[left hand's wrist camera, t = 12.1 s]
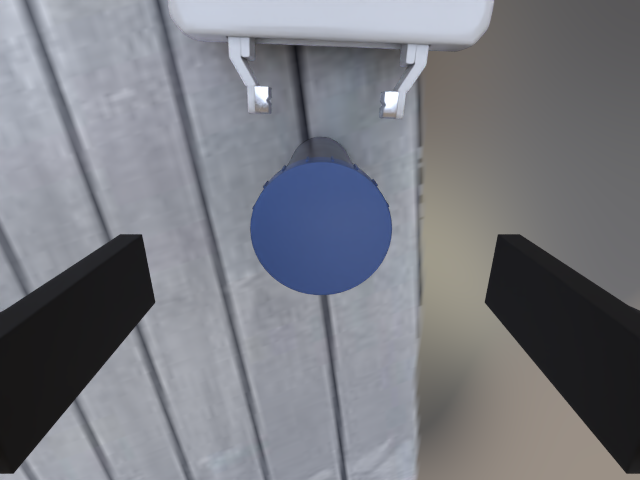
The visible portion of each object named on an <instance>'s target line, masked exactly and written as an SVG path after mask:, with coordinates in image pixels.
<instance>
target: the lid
mask: <svg viewBox="0 0 640 480" xmlns="http://www.w3.org/2000/svg"><path fill="white" fill-rule="evenodd" d="M377 186H378V185H377V183H376V182H375V181H374V179H372V180H371V179H370V178H369V176H368V175H367V174H365V173H364V172H363V171H362V170H360V169H359V168H358V167H357V165H356V164H354V165H352V164H350V163H348V162H346V161H343V160H339V159H336V158H334V157H333V156H331V158H329V157H313V158H309V156H308V157H306V159H303V160H299V161H297V162H294V163H292V164H290V165H288V166H287V167H286V165H285V166H284V167H283V168H282V170H281V171H279V172H278V173H277V174H276V175H275V176H274V177H273V178H272V179H271V180H270V181H269V182H268V181H267V182H266V183H265V185H264V186H263V188H264V190H263V191H262V193H261V194H260V196H259V198H258V200H257V202H256V203H255V205H254V206H253V213H252V217H251V227H250V230H251V240H252V244H253V248H254V250H255V253H256V255H257V257H258V259H259V261H260V263H261V264H262V265H263V267H264V268H265V269H266V271H267V272H268V273H269V274H270V275H271V276H272V277H273V278H275V279H276V280H277V281H278V282H280V283H281V284H283V285H285V286H287V287H289V288H291V289H293V290H296V291H298V292H302V293H306V294H313V295H329V294H336V293H340V292H344V291H346V290H349V289H351V288H353V287H355V286H358V285H359V284H361V283H362V282H364V281H365V280H366V279H367V278H369V277H370V276H371V275H372V274H373V273H374V272H375V271H376V270H377V269H378V267H379V266H380V264H381V263H382V261H383V260H384V258H385V256H386V254H387V251H388V248H389V245H390V241H391V234H392V222H391V216H390V211H389V208H388V207H389V205H388V203H387V202H386V200H385V199H384V197H383V195H382V194H381V192H380V191H379V189H378V188H377Z"/></svg>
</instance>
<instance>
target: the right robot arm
mask: <svg viewBox="0 0 640 480" xmlns="http://www.w3.org/2000/svg"><path fill="white" fill-rule="evenodd" d="M493 6H494V0H168V7H169V14H170V16H171V18H172V20H173V21H174V23H175V24H176V26H177V27H178V28H179V29H180V30H181V32H182V33H184V34H185V35H187V36H188V37H190V38H192V39H195V40H197V41H208V42H228V47H229V58H230V59H231V61H232V63H233V65H234V67H235V68H236V70H237V72H238V74H239V75H240V77H241V79H242V81H243V83H244V84H245V85H246V86H247V99H248V111H249V113H253V114H271V112H272V104H271V102H270V99H271V98H272V88H270V87H262V86H260V85H259V83H258V81H257V79H256V77H255V75H254V73H253V72H252V70H251V68H250V66H249V64H248V62H247V60H249V61H254V60H255V43H257V44H282V45H306V46H331V47H356V48H380V49H401V55H400V66H401V67H407V69H406V71H405V72H404V74H403V75H402V77H401V79H400V80H399V82H398V83H397V85H396V86H395V88H394V90H393V91H392V92H387V91H385V92H381V100H380V102H381V104H382V106H381V107H380V111H379V117H380V118H388V119H402V118H403V115H404V108H405V99H406V92H408V91H409V90H410V88H411V87H412V85H413V84H414V82H415V81H416V80H417V78H418V77H419V75H420V74H421V72H422V71H423V69H424V68H425V66H426V64H427V56H428V50H430V51H460V50H463V49H466V48H468V47H471V46H473V45H474V44H475V43H476V42H477V41H478V40H479V39H480V38H481V37H482V36H483V34H484V33H485V32H486V31H487V29H488V27H489V24H490V21H491V16H492V11H493Z"/></svg>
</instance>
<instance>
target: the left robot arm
mask: <svg viewBox="0 0 640 480" xmlns="http://www.w3.org/2000/svg"><path fill="white" fill-rule="evenodd" d="M154 303H155V299H154V293H153V288H152V283H151V278H150V273H149V268H148V263H147V258H146V253H145V247H144V242H143V237H142V234H120V235H119V236H117V237H116V238H114V239H113V240H111V241H110V242H108V243H106V244H105V245H103V246H102V247H100V248H99V249H97V250H96V251H94V252H93V253H91V254H90V255H88V256H87V257H85V258H84V259H82V260H81V261H79V262H77V263H76V264H74V265H73V266H71V267H70V268H68V269H67V270H65V271H64V272H62V273H61V274H59V275H58V276H56V277H55V278H53V279H52V280H50V281H48V282H47V283H45V284H44V285H42V286H41V287H39V288H38V289H36V290H35V291H33V292H32V293H30V294H29V295H27V296H26V297H24V298H23V299H21V300H19V301H18V302H16V303H15V304H13V305H12V306H10V307H9V308H7V309H6V310H4V311H2V312H0V474H14V472H15V471H16V470H17V469H18V467H19V466H20V465H21V464H22V463H23V461H24V460H25V459H26V458H27V457H28V455H29V454H30V453H31V452H32V451H33V449H34V448H35V447H36V446H37V445H38V443H39V442H40V441H41V440H42V439H43V437H44V436H45V435H46V434H47V432H48V431H49V430H50V429H51V428H52V426H53V425H54V424H55V423H56V422H57V420H58V419H59V418H60V417H61V416H62V414H63V413H64V412H65V411H66V410H67V408H68V407H69V406H70V405H71V404H72V402H73V401H74V400H75V399H76V397H77V396H78V395H79V394H80V393H81V391H82V390H83V389H84V388H85V387H86V385H87V384H88V383H89V382H90V381H91V379H92V378H93V377H94V376H95V375H96V373H97V372H98V371H99V370H100V369H101V367H102V366H103V365H104V364H105V362H106V361H107V360H108V359H109V358H110V356H111V355H112V354H113V353H114V352H115V350H116V349H117V348H118V347H119V346H120V344H121V343H122V342H123V341H124V340H125V338H126V337H127V336H128V335H129V334H130V332H131V331H132V330H133V329H134V327H135V326H136V325H137V324H138V323H139V321H140V320H141V319H142V318H143V317H144V315H145V314H146V313H147V312H148V311H149V309H150V308H151V307H152V306H153V305H154ZM485 303H486V305H487V306H488V307H489V308H490V309H491V311H492V312H493V313H494V314H495V315H496V317H497V318H498V319H499V320H500V321H501V323H502V324H503V325H504V326H505V327H506V329H507V330H508V331H509V332H510V333H511V335H512V336H513V337H514V338H515V340H516V341H517V342H518V343H519V344H520V346H521V347H522V348H523V349H524V350H525V352H526V353H527V354H528V355H529V356H530V358H531V359H532V360H533V361H534V362H535V364H536V365H537V366H538V367H539V369H540V370H541V371H542V372H543V373H544V375H545V376H546V377H547V378H548V379H549V381H550V382H551V383H552V384H553V385H554V387H555V388H556V389H557V390H558V391H559V393H560V394H561V395H562V396H563V397H564V399H565V400H566V401H567V402H568V404H569V405H570V406H571V407H572V408H573V410H574V411H575V412H576V413H577V414H578V416H579V417H580V418H581V419H582V420H583V422H584V423H585V424H586V425H587V426H588V428H589V429H590V430H591V431H592V432H593V434H594V435H595V436H596V437H597V439H598V440H599V441H600V442H601V443H602V445H603V446H604V447H605V448H606V449H607V450H608V452H609V453H610V454H611V455H612V457H613V458H614V459H615V460H616V461H617V463H618V464H619V465H620V466H621V467H622V469H623V470H624V471H625V472H626V473H627V474H640V311H639V310H637V309H635V308H633V307H630V306H628V305H627V304H625V303H624V302H622V301H621V300H619V299H617V298H616V297H614V296H613V295H611V294H610V293H608V292H607V291H605V290H604V289H602V288H601V287H599V286H598V285H596V284H595V283H593V282H591V281H590V280H588V279H587V278H585V277H584V276H582V275H581V274H579V273H578V272H576V271H575V270H573V269H572V268H570V267H569V266H567V265H566V264H564V263H562V262H561V261H559V260H558V259H556V258H555V257H553V256H552V255H550V254H549V253H547V252H546V251H544V250H543V249H541V248H540V247H538V246H537V245H535V244H534V243H532V242H530V241H529V240H527V239H526V238H524V237H523V236H521V235H520V234H517V235H516V234H505V235H504V234H503V235H502V234H499V235H498V237H497V242H496V247H495V253H494V258H493V263H492V268H491V273H490V278H489V283H488V288H487V293H486V299H485Z"/></svg>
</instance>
